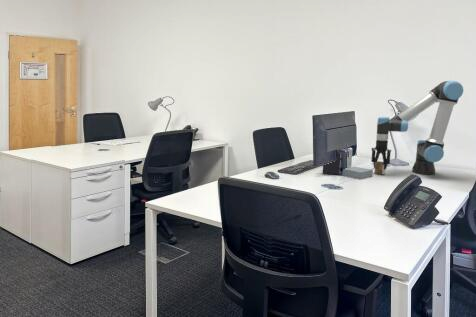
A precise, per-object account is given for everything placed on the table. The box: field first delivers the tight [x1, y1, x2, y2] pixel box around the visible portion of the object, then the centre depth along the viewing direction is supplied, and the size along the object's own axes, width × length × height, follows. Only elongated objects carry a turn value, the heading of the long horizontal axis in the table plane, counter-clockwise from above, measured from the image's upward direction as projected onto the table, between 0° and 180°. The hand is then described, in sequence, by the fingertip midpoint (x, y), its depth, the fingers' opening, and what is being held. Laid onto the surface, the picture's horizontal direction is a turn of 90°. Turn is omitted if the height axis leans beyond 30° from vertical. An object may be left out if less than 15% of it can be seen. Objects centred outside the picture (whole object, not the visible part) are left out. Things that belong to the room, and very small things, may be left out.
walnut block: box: [373, 161, 384, 175], centre depth 284 cm, size 5×5×8 cm
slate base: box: [341, 166, 374, 180], centre depth 277 cm, size 14×14×5 cm
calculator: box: [322, 153, 341, 176], centre depth 281 cm, size 11×4×15 cm, turn 84°
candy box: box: [347, 147, 354, 168], centre depth 298 cm, size 14×6×16 cm, turn 5°
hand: (379, 173), depth 285 cm, fingers closed on walnut block, 5 cm apart
